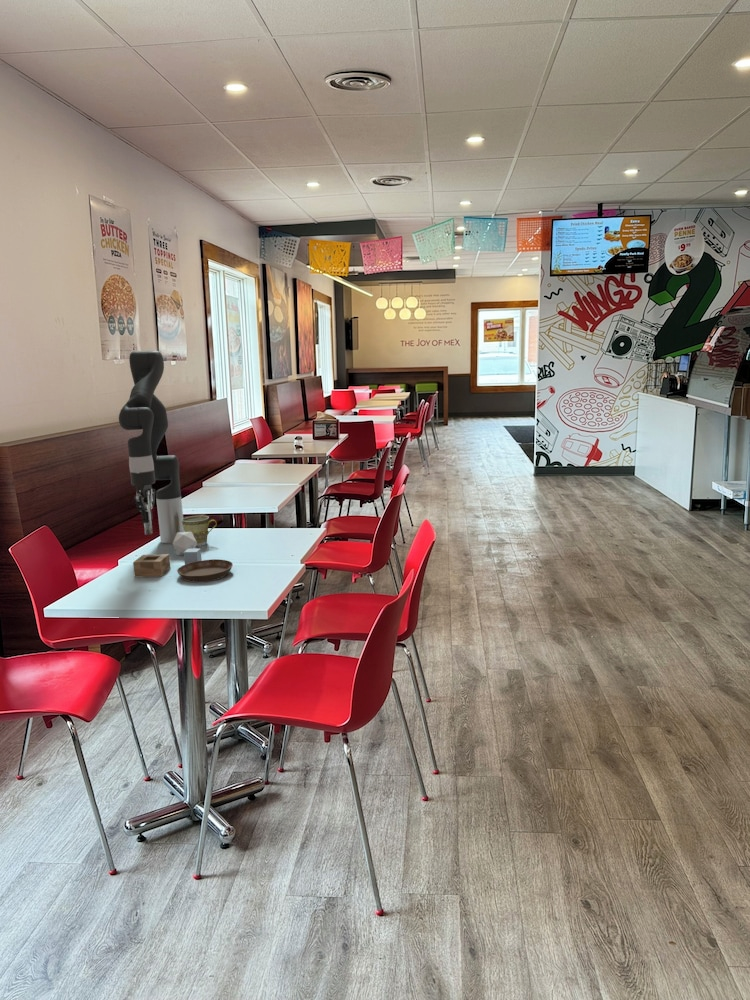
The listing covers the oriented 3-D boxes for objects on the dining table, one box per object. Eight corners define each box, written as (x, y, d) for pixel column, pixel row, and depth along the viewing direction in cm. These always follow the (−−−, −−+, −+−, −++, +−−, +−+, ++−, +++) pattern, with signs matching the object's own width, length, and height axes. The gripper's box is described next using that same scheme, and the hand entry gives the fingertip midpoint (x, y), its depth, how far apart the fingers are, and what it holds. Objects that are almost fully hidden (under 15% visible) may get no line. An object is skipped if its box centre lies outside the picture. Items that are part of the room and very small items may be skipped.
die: (188, 559, 265) (201, 535, 267) (166, 548, 264) (179, 524, 266) (190, 561, 273) (202, 538, 275) (168, 551, 272) (181, 527, 274)
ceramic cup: (180, 548, 278) (178, 521, 276) (188, 541, 288) (185, 515, 286) (215, 546, 278) (213, 520, 276) (221, 540, 288) (219, 514, 286)
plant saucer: (178, 587, 232) (177, 577, 232) (177, 571, 249) (176, 562, 249) (236, 580, 237) (235, 570, 236) (230, 565, 254) (230, 556, 253)
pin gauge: (146, 532, 247) (142, 497, 244) (153, 532, 247) (150, 497, 244) (144, 534, 245) (140, 498, 242) (151, 534, 244) (147, 498, 242)
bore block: (144, 568, 253) (143, 554, 252) (170, 568, 252) (169, 554, 251) (134, 577, 244) (133, 562, 243) (161, 576, 244) (160, 561, 243)
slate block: (189, 562, 259) (187, 548, 258) (201, 562, 258) (200, 548, 257) (185, 566, 254) (183, 552, 253) (198, 566, 254) (196, 551, 253)
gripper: (138, 466, 248) (144, 517, 252) (122, 473, 235) (128, 527, 238) (160, 465, 248) (165, 516, 251) (145, 472, 234) (151, 526, 238)
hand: (147, 521), depth 245 cm, fingers closed on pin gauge, 2 cm apart
